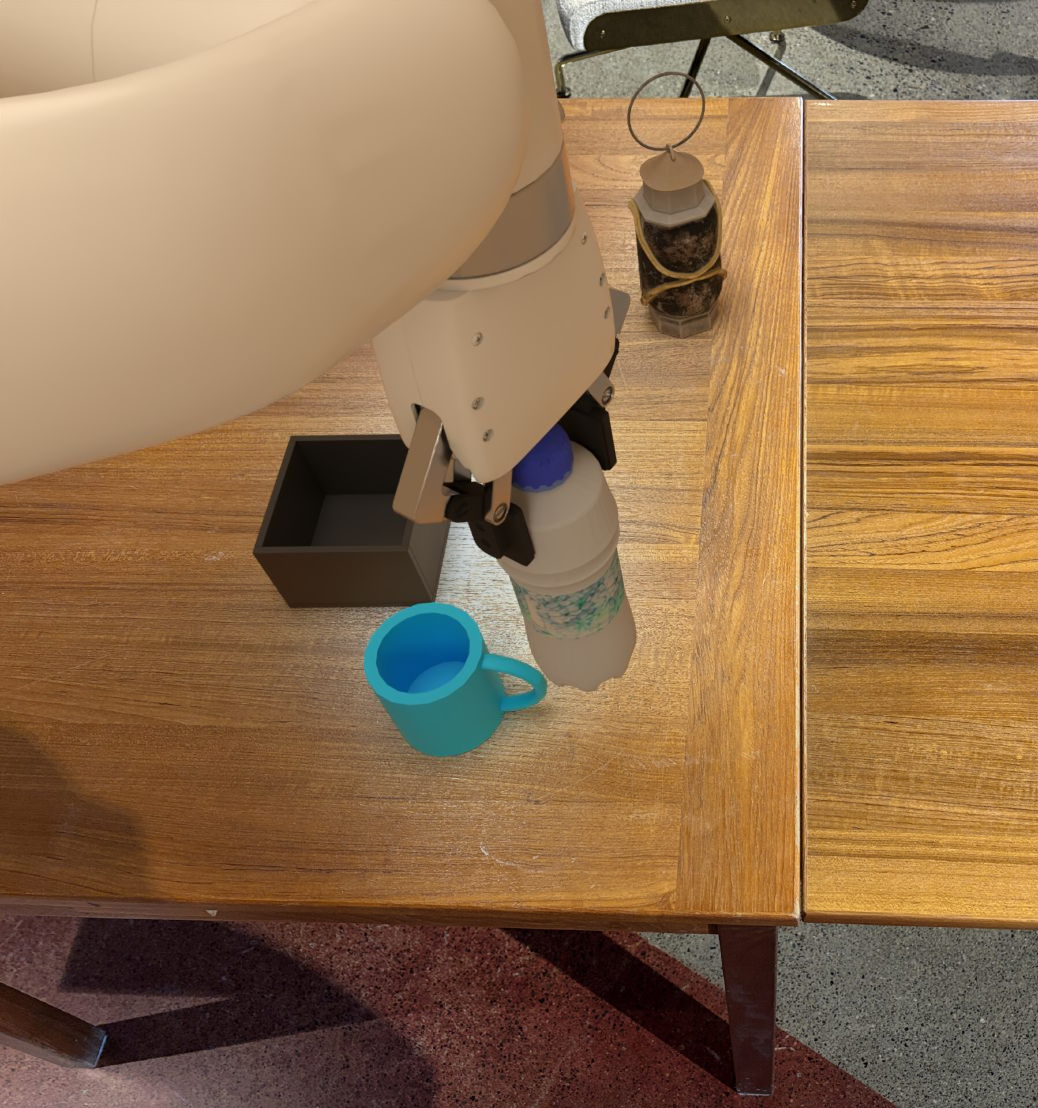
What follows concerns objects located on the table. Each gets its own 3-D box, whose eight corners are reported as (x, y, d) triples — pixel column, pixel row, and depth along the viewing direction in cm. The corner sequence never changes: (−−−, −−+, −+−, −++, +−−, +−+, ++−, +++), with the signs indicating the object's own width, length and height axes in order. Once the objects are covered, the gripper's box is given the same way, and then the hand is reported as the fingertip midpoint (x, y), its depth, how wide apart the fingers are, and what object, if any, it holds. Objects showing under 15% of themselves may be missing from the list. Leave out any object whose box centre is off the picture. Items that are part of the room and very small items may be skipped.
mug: (385, 754, 78) (349, 703, 71) (411, 657, 83) (379, 600, 76) (547, 761, 77) (526, 709, 71) (564, 662, 82) (546, 605, 75)
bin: (433, 606, 85) (407, 551, 79) (289, 607, 86) (251, 553, 79) (456, 492, 92) (434, 433, 86) (322, 493, 92) (290, 435, 86)
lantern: (709, 277, 107) (695, 35, 87) (741, 328, 103) (734, 86, 83) (628, 302, 106) (594, 61, 85) (657, 354, 101) (629, 114, 81)
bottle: (583, 592, 68) (526, 362, 52) (665, 644, 65) (632, 421, 49) (510, 666, 65) (425, 448, 49) (593, 725, 62) (533, 515, 46)
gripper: (530, 53, 44) (588, 370, 59) (214, 296, 35) (374, 596, 50) (683, 102, 42) (704, 419, 56) (385, 376, 33) (501, 666, 48)
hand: (548, 500), depth 53 cm, fingers closed on bottle, 6 cm apart
